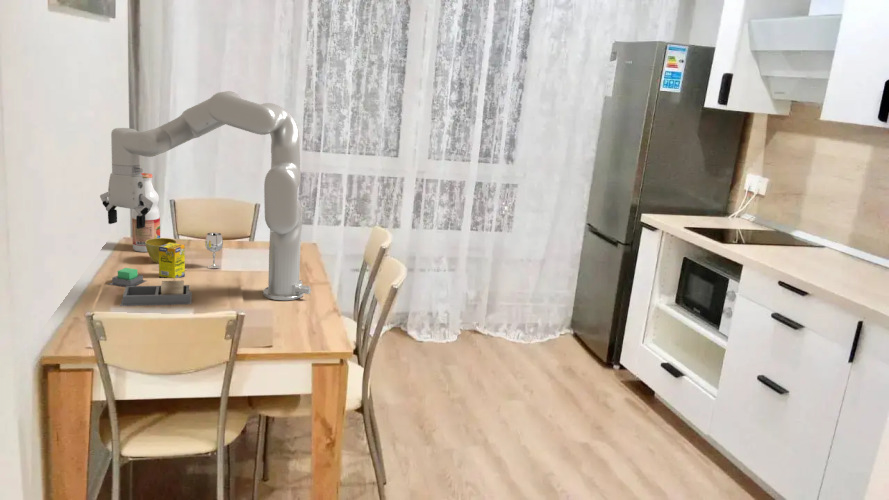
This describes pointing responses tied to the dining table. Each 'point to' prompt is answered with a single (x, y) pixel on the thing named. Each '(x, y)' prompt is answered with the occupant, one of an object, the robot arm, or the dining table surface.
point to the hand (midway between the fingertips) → (126, 225)
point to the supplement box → (171, 260)
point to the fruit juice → (147, 218)
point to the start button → (127, 273)
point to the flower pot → (156, 247)
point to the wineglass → (214, 245)
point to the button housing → (127, 281)
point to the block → (172, 287)
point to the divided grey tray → (153, 296)
